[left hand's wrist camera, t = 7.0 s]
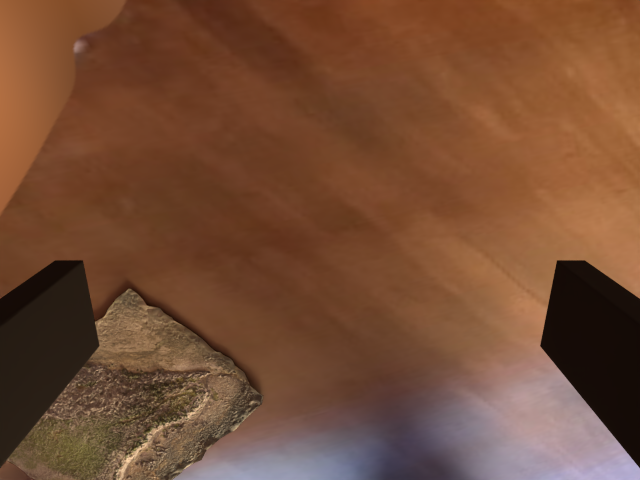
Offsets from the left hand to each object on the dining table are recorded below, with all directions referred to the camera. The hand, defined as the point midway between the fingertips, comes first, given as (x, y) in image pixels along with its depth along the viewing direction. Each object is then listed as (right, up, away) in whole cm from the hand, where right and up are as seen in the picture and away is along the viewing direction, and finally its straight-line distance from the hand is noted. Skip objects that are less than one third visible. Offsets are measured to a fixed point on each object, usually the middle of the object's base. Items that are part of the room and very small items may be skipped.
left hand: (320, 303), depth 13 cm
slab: (-21, -18, +36) cm, 46 cm away
